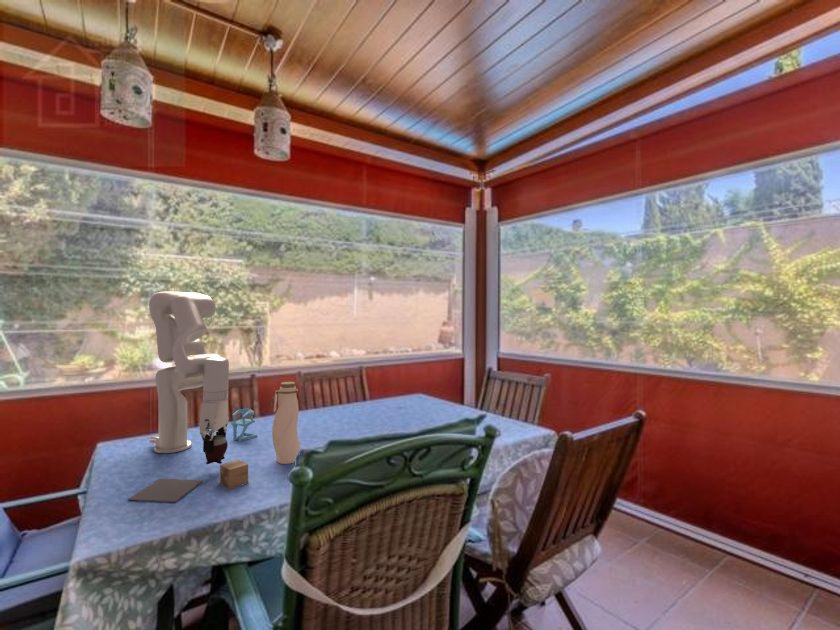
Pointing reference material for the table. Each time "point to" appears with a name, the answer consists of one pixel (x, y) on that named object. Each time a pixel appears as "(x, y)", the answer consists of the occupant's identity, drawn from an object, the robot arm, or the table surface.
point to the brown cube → (233, 474)
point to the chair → (243, 424)
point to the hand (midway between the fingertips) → (214, 447)
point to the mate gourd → (217, 449)
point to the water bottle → (286, 423)
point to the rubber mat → (166, 490)
